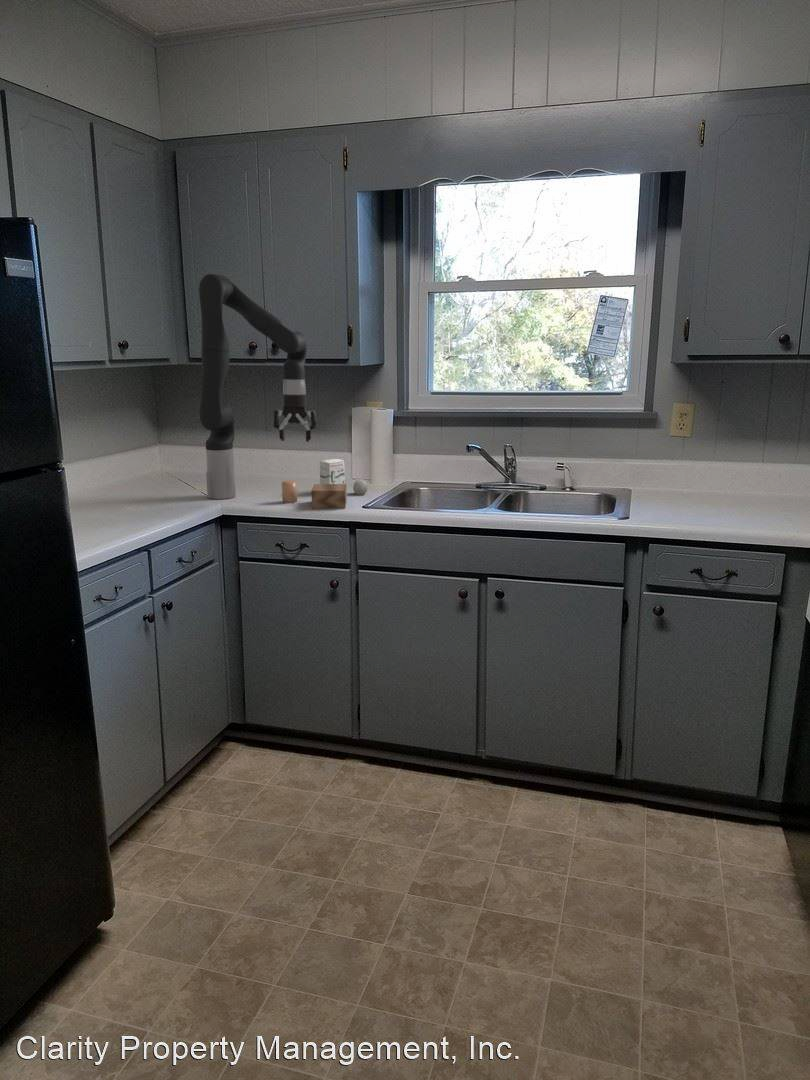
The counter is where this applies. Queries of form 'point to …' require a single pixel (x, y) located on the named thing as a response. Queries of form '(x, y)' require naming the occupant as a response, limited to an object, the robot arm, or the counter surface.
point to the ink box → (332, 471)
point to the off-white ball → (360, 487)
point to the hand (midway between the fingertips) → (295, 441)
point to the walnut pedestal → (328, 496)
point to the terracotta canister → (289, 491)
